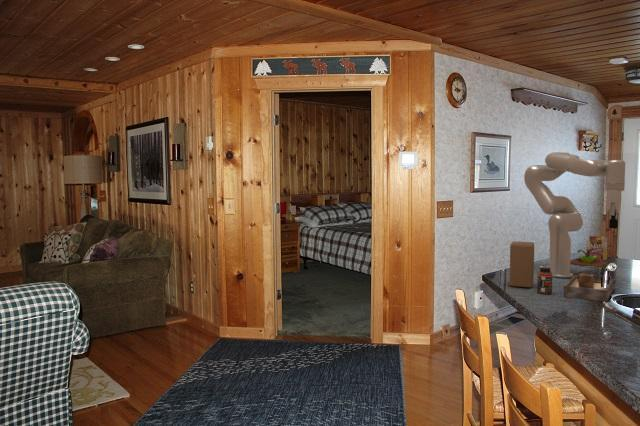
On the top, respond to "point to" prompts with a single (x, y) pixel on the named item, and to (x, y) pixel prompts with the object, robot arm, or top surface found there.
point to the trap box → (588, 290)
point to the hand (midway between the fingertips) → (613, 228)
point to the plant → (587, 260)
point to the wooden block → (522, 264)
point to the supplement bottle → (544, 281)
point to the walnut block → (586, 281)
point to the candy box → (598, 247)
